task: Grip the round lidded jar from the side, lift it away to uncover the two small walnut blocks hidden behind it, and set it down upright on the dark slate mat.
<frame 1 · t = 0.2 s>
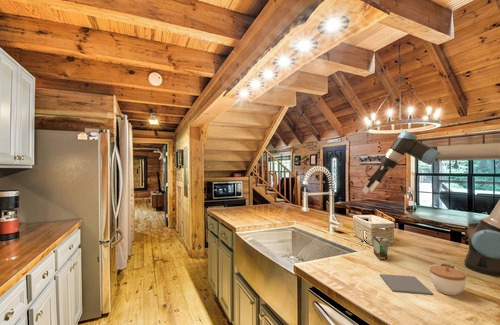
hand: (367, 191, 130), 35 cm above the countertop, tool tilted 35°, fingers open, 13 cm apart
slate mat: (404, 284, 97), on the countertop
storage basket: (372, 241, 154), on the countertop
walnut block B: (447, 275, 105), on the countertop
food container: (382, 257, 126), on the countertop
walnut block A: (447, 279, 101), on the countertop
lidded jar: (447, 291, 91), on the countertop
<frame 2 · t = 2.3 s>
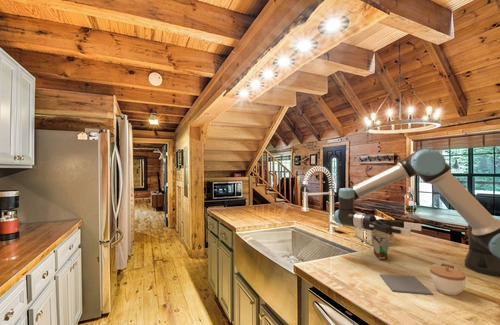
hand: (416, 230, 99), 22 cm above the countertop, tool horizontal, fingers open, 13 cm apart
nothing on the countertop moved.
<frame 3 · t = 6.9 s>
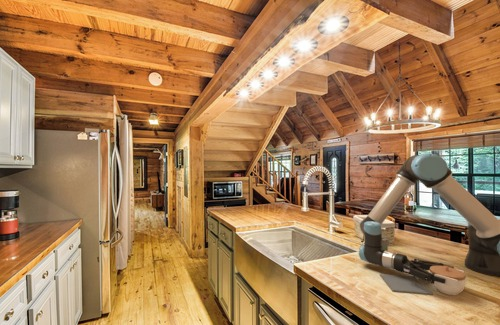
hand: (460, 279, 88), 6 cm above the countertop, tool horizontal, fingers closed on lidded jar, 11 cm apart
lidded jar: (447, 291, 91), on the countertop, touching gripper
everything else where it was.
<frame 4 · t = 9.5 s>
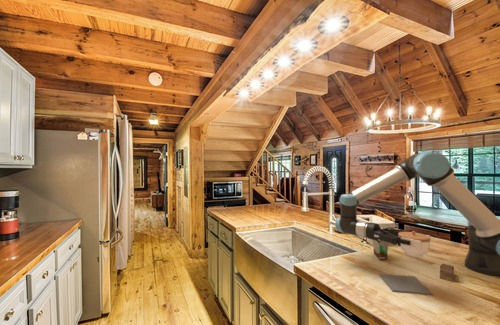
hand: (425, 241, 92), 19 cm above the countertop, tool horizontal, fingers closed on lidded jar, 11 cm apart
lidded jar: (413, 254, 95), point 13 cm above the countertop, touching gripper
everything else where it was.
when the fingers open (8 cm above the countertop, at t = 12.3 s): lidded jar drops 1 cm, resting on slate mat.
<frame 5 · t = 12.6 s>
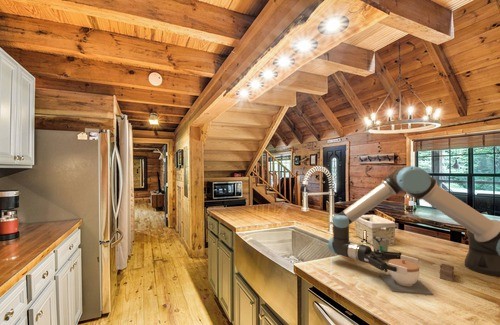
hand: (413, 267, 94), 8 cm above the countertop, tool horizontal, fingers open, 13 cm apart
lidded jar: (403, 283, 97), resting on slate mat
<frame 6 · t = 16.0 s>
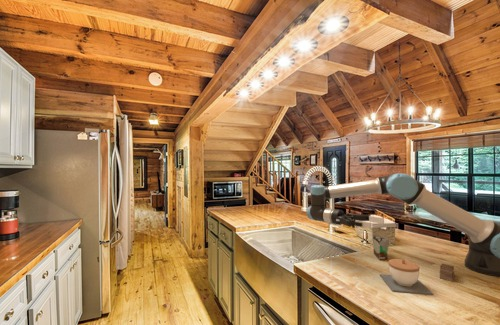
hand: (377, 223, 105), 23 cm above the countertop, tool horizontal, fingers open, 13 cm apart
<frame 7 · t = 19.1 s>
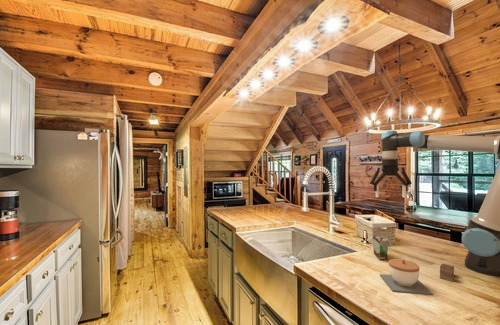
hand: (390, 197, 129), 32 cm above the countertop, tool pointing down, fingers open, 13 cm apart
at the end: lidded jar inside the target area on the slate mat (0.1 cm from its centre), point 0.4 cm above the slate mat's base; lidded jar tilted 0°; the gripper is holding nothing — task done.
